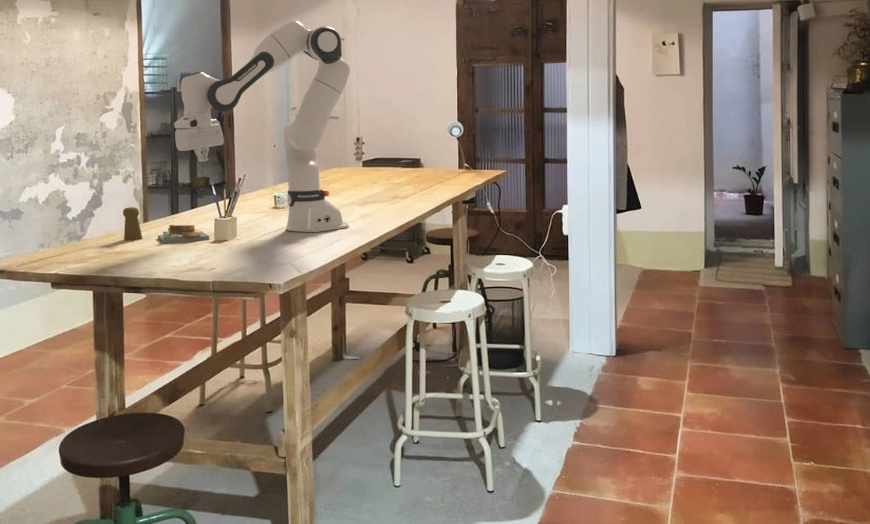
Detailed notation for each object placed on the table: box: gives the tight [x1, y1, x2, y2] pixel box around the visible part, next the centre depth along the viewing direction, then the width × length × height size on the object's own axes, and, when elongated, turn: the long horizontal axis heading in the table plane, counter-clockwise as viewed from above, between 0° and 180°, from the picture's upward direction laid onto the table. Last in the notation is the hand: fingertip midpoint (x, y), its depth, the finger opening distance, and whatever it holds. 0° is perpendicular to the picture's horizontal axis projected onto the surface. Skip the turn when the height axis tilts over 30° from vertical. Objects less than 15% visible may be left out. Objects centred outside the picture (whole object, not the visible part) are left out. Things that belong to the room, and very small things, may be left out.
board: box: [157, 227, 210, 245], centre depth 305 cm, size 15×11×4 cm
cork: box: [122, 206, 143, 242], centre depth 306 cm, size 6×6×11 cm
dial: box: [168, 224, 201, 237], centre depth 303 cm, size 10×6×4 cm, turn 88°
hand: (203, 161), depth 308 cm, fingers closed
